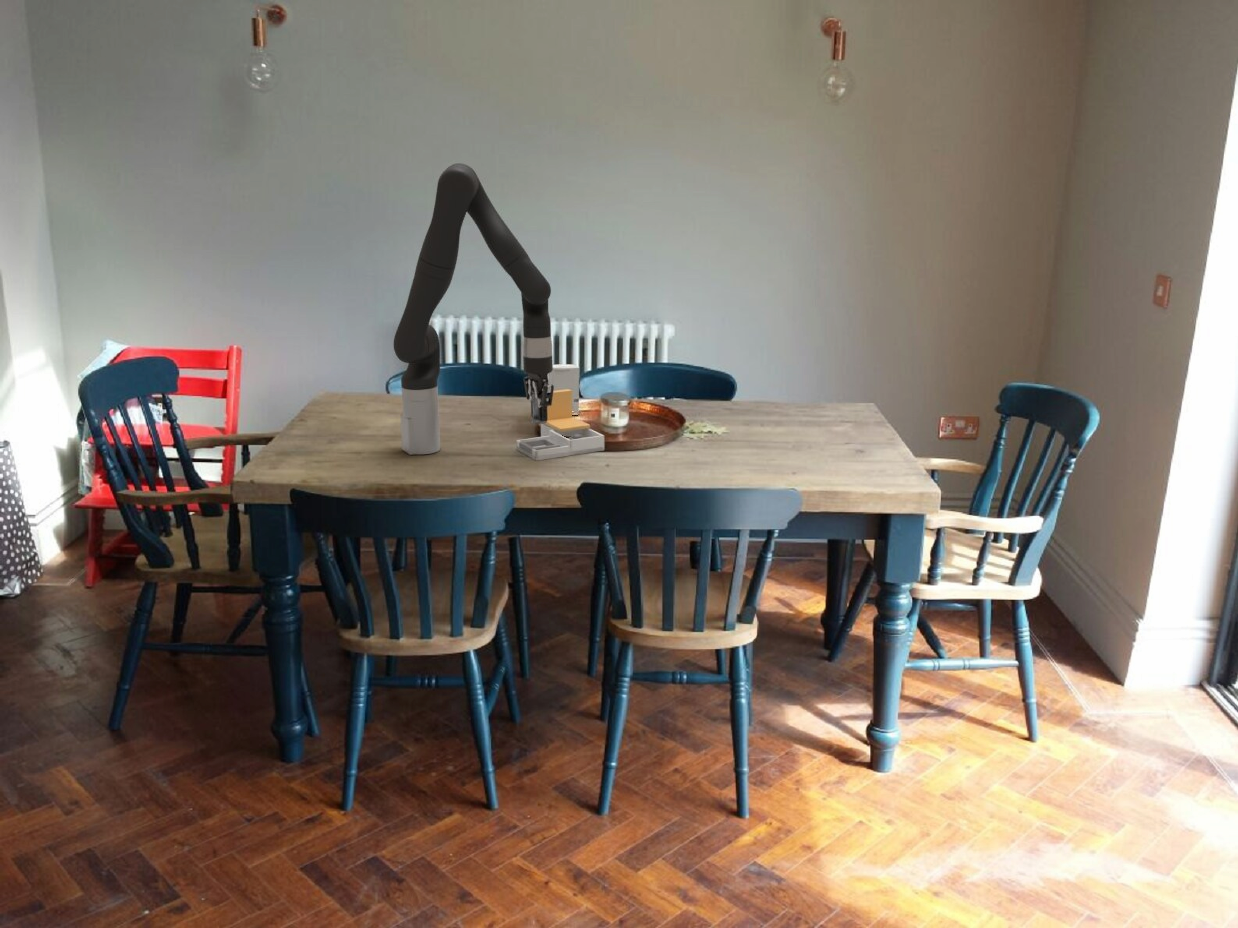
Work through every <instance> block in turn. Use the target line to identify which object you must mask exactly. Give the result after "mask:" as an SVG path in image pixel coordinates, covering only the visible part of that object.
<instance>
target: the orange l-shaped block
mask: <svg viewBox="0 0 1238 928" xmlns="http://www.w3.org/2000/svg"><path fill="white" fill-rule="evenodd" d="M548 399H549V398H548ZM547 417H548V419H547V423H544V424H546V425H548V426H550V427H552V428H554V429H556V430H558V431H560V432H563V431H571V430H578V429H585V428H589V429H591V424H589V423H587V422H584V421H583V420H581V419H578V418H576V417H575V416H572V390H569V389H565V390H557V391H553V398H552V405H551V406H548V407H547Z"/></svg>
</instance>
